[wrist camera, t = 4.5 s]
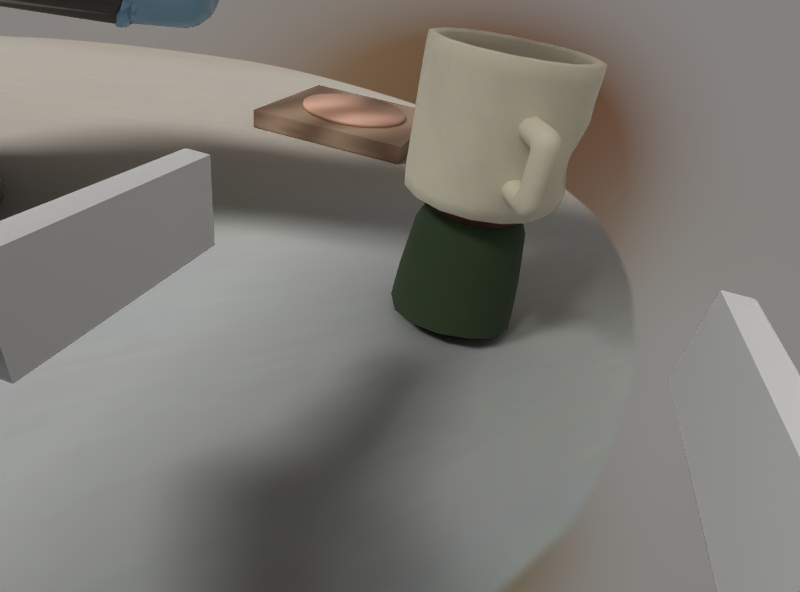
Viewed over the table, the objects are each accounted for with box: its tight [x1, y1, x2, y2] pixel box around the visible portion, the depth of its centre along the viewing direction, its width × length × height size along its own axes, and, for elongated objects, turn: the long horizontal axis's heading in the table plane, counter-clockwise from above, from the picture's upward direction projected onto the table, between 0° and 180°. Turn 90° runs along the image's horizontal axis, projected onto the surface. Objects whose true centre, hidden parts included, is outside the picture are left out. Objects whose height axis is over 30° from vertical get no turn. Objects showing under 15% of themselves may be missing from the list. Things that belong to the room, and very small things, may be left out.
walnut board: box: [254, 85, 415, 164], centre depth 51 cm, size 14×14×2 cm
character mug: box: [391, 28, 607, 339], centre depth 24 cm, size 11×7×13 cm, turn 9°
